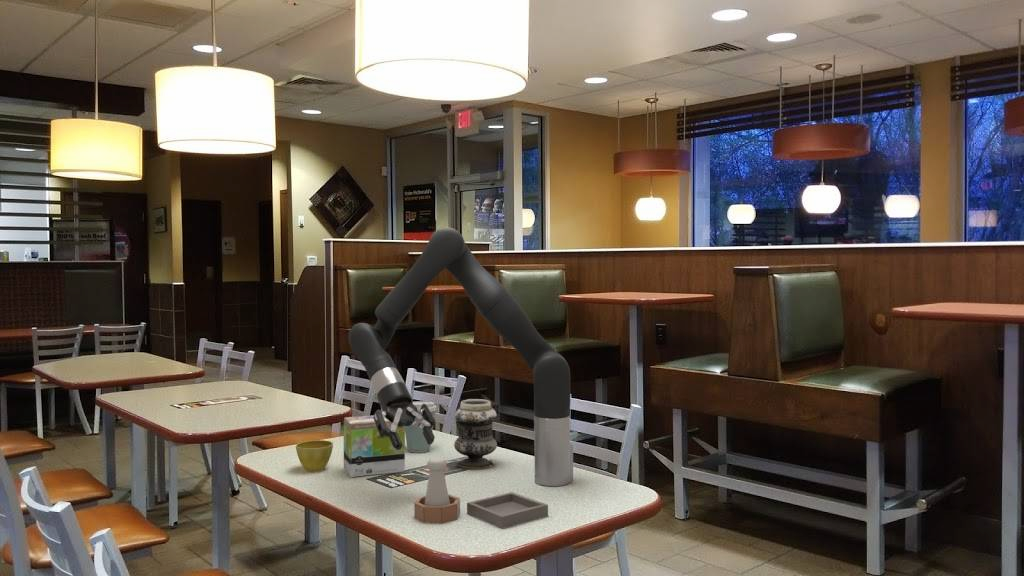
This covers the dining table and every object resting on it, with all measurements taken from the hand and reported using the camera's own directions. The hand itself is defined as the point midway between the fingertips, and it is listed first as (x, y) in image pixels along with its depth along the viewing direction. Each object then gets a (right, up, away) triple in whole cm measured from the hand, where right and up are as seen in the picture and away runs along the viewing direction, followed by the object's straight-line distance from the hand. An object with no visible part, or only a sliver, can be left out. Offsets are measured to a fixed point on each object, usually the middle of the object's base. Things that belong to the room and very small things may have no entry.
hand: (416, 445), depth 183 cm
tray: (+21, -14, -6) cm, 26 cm away
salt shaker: (+6, -15, -6) cm, 17 cm away
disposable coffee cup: (-6, -13, +56) cm, 58 cm away
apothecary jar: (+12, -13, +38) cm, 42 cm away
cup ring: (+6, -15, -6) cm, 17 cm away
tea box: (-15, -14, +33) cm, 39 cm away
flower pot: (-32, -14, +35) cm, 50 cm away
